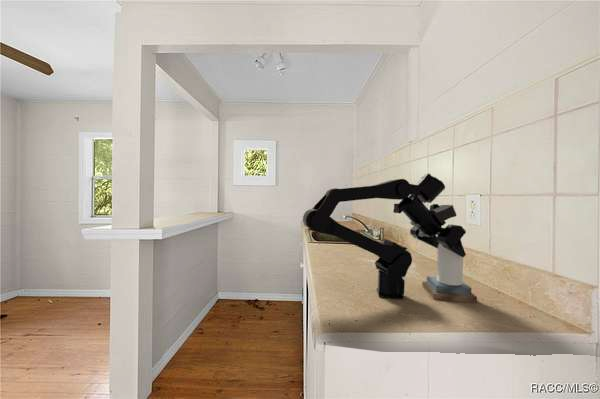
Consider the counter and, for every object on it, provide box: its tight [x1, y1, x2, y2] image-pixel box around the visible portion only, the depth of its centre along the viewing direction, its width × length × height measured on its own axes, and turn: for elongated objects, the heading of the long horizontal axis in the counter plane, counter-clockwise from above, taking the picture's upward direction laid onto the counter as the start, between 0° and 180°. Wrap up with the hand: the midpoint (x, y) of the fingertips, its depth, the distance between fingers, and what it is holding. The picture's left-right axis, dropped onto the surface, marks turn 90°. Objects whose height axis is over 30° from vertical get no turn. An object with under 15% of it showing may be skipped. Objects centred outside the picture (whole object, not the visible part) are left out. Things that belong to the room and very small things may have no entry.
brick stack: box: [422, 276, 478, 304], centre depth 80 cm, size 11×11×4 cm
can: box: [436, 241, 464, 286], centre depth 78 cm, size 6×6×12 cm
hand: (453, 252), depth 80 cm, fingers open, 9 cm apart
